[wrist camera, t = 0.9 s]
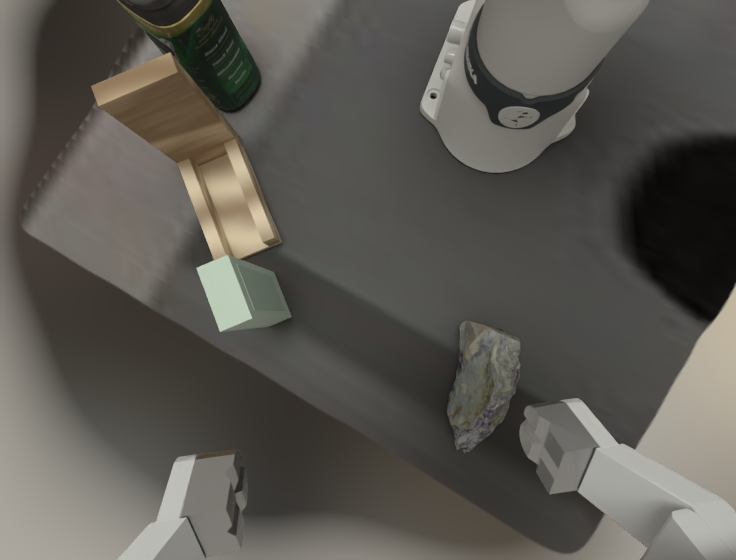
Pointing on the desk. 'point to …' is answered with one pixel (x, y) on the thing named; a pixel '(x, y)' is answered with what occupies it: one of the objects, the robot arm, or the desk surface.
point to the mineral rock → (482, 382)
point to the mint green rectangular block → (242, 294)
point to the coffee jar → (201, 46)
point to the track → (195, 152)
